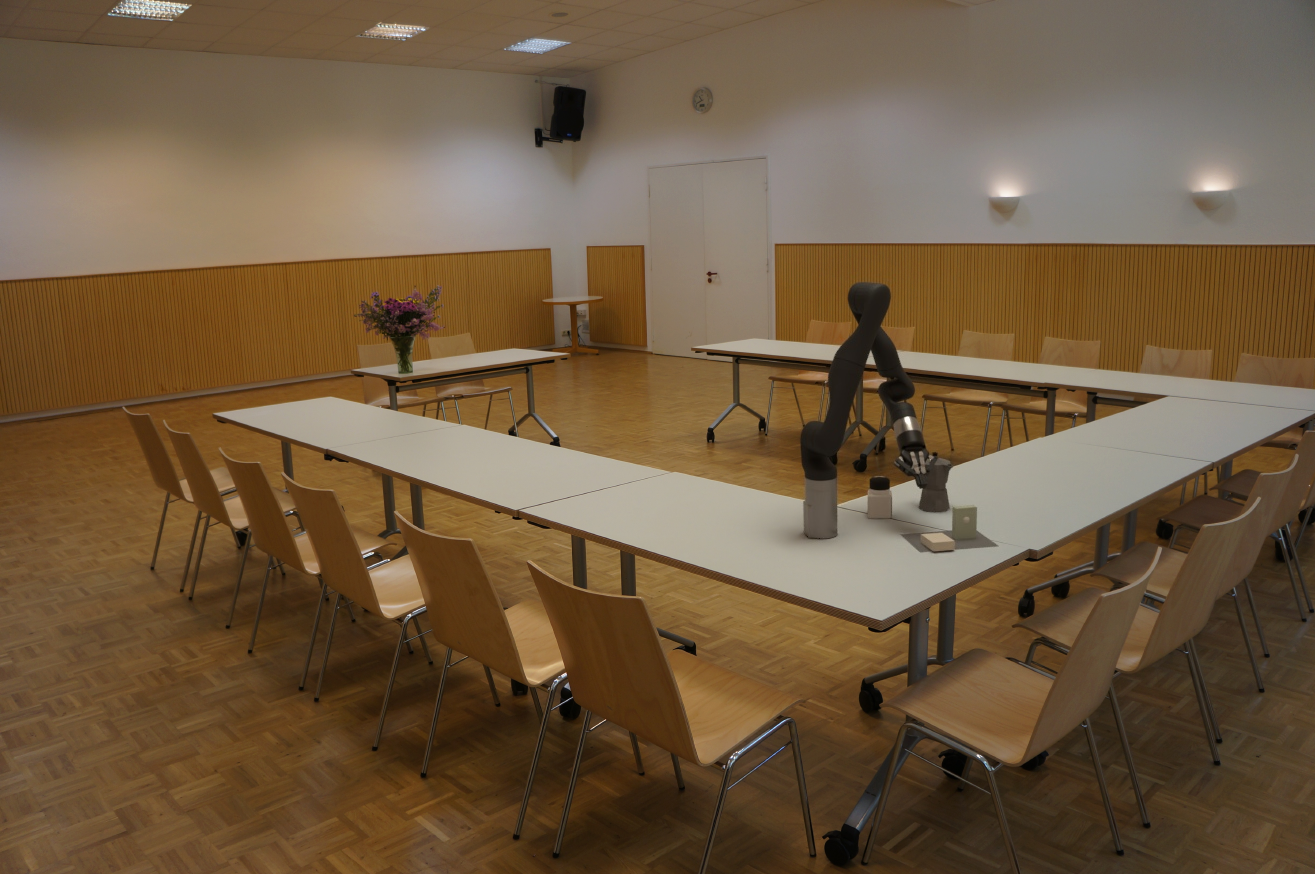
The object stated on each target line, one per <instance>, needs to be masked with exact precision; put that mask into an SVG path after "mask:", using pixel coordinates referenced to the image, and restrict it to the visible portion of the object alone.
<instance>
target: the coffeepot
mask: <svg viewBox="0 0 1315 874" xmlns="http://www.w3.org/2000/svg"><path fill="white" fill-rule="evenodd" d="M938 454H939V453H938V452H937V451H933V452H932V456H933V457H934V456H937V457H938ZM928 461H929V460H928V458H927V460H926V462H925V469H927V468H928V466H929V462H928ZM952 468H954V465H953V463H951V461H950V460H948V459H945V458H940V457H938V459H937V461H936V463H935V465H934V467H933V468H932V470H931V472H930V474H929V475H928V476H927V475H926V478H927V481H928V484H927V486H926V487H925V489H921V494H920V500H919V504H918V508H919V509H920V510H921V511H924V512H928V513H943V512H947V511H949V509H950V507H951V506H950V502H949V501H950V499H949V495H948V488H947V483H948V480H949V475H950V474H949V473H950V471H951V469H952Z"/></svg>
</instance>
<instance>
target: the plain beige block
mask: <svg viewBox="0 0 1315 874" xmlns="http://www.w3.org/2000/svg"><path fill="white" fill-rule="evenodd" d="M921 543H922V544H923V545H925V546H926V547H928V548H929V549H931V550H932V552H943V551H944V552H945V551H956V550H955V541H954V540H952V539H951V538H949V537H948V536H946V535H945V534H943V533H931V534H921Z"/></svg>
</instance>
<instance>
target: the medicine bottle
mask: <svg viewBox="0 0 1315 874" xmlns="http://www.w3.org/2000/svg"><path fill="white" fill-rule="evenodd" d="M892 518H893V495H892V490H891V480H890V478H889V477H887V476H882V475H880V476H879V475H876V476H872V477H871V478H869V489H868V490H867V519H892Z"/></svg>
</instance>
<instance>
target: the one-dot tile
mask: <svg viewBox="0 0 1315 874" xmlns="http://www.w3.org/2000/svg"><path fill="white" fill-rule="evenodd" d="M977 518H978V506H976V505H975V504H968V505H966V504H965V505H954V506H953V505H952V522H951V523H952V525H951V527H952V537H953V538H954V539H955V540H959V539H972V538H976V530H977V527H978V526H977V525H978V521H977Z"/></svg>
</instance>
